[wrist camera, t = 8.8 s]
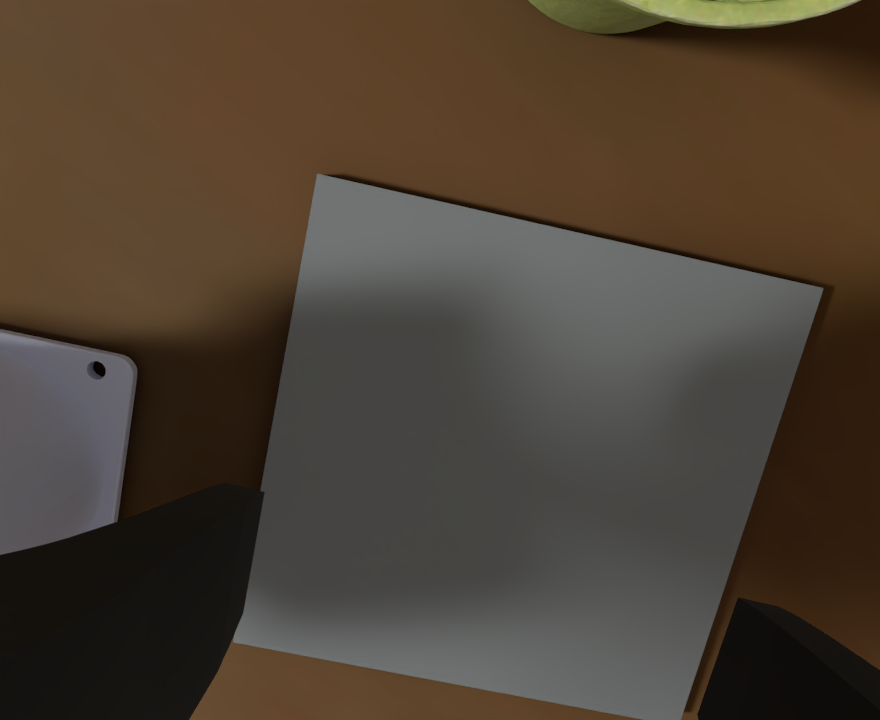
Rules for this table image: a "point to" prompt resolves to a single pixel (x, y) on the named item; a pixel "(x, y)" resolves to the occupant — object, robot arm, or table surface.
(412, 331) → the mat
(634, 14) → the plant pot
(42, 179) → the table surface
